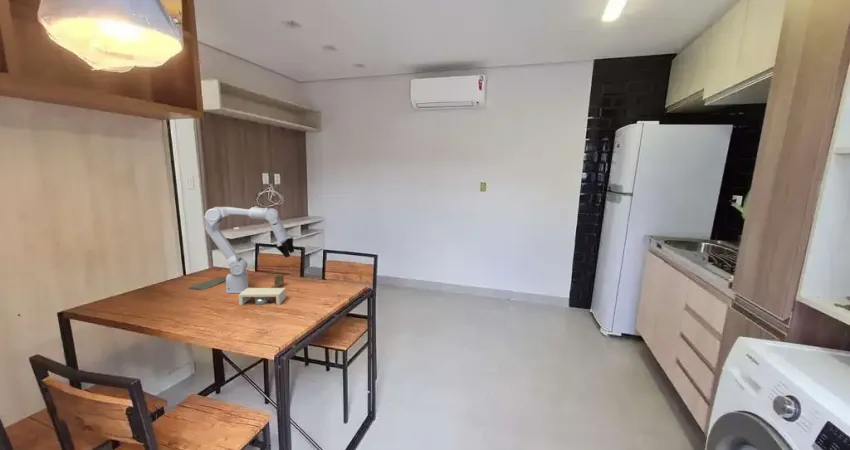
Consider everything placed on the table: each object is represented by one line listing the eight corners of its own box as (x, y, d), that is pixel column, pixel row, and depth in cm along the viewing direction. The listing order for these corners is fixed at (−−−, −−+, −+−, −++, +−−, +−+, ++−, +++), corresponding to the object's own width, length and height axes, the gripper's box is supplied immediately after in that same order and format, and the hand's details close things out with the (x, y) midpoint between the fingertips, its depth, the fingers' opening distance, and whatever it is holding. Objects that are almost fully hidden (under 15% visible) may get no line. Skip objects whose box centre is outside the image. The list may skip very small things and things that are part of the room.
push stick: (264, 296, 170) (264, 284, 169) (277, 285, 187) (276, 274, 186) (272, 296, 170) (271, 284, 169) (283, 285, 187) (283, 274, 186)
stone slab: (187, 292, 178) (203, 291, 176) (186, 286, 178) (202, 286, 175) (220, 279, 200) (235, 278, 197) (219, 275, 199) (234, 274, 197)
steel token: (252, 305, 159) (252, 300, 159) (258, 300, 165) (257, 295, 164) (266, 305, 159) (265, 300, 159) (271, 300, 165) (270, 295, 165)
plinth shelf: (239, 305, 158) (238, 294, 158) (247, 297, 167) (247, 288, 167) (279, 304, 160) (279, 294, 159) (285, 297, 169) (285, 287, 168)
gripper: (282, 231, 171) (293, 256, 174) (290, 225, 185) (301, 247, 188) (268, 236, 171) (280, 261, 174) (278, 229, 185) (288, 252, 188)
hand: (290, 254), depth 181 cm, fingers open, 7 cm apart
